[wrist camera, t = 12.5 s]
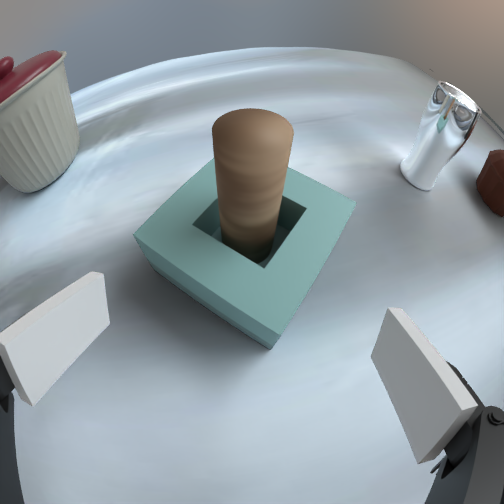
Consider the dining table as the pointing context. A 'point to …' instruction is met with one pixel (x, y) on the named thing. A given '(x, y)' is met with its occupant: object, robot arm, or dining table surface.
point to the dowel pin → (250, 177)
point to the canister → (36, 121)
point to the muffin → (493, 182)
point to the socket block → (237, 266)
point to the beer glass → (440, 135)
